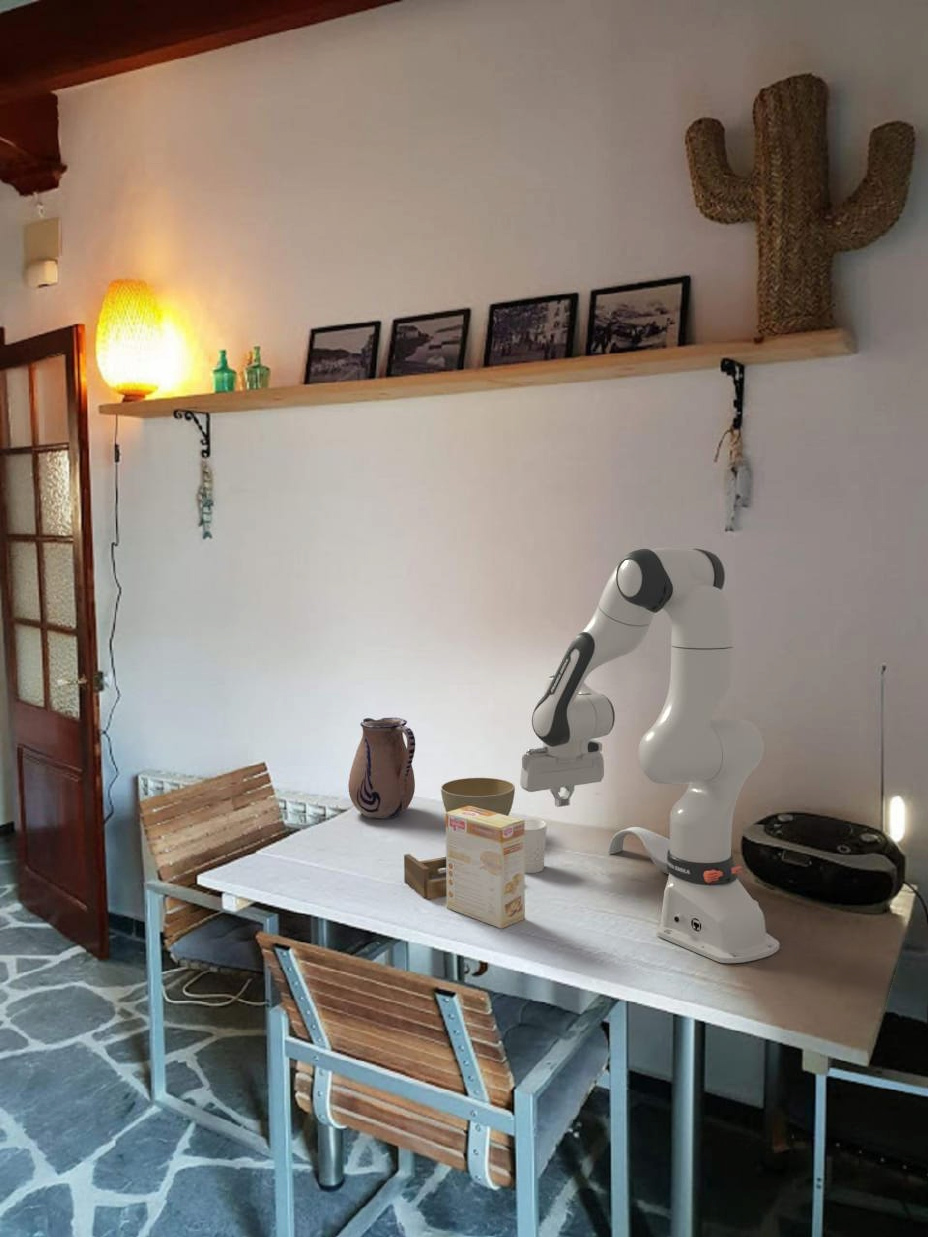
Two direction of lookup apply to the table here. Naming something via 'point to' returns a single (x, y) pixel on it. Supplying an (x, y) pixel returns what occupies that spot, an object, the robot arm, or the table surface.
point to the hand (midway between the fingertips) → (562, 805)
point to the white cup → (534, 845)
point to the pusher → (442, 870)
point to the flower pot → (479, 794)
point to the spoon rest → (652, 842)
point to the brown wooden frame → (425, 876)
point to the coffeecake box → (485, 865)
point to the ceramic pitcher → (383, 769)
